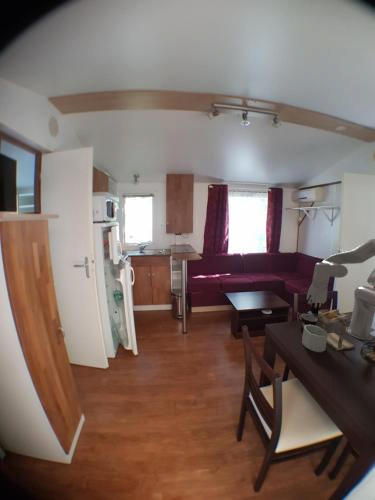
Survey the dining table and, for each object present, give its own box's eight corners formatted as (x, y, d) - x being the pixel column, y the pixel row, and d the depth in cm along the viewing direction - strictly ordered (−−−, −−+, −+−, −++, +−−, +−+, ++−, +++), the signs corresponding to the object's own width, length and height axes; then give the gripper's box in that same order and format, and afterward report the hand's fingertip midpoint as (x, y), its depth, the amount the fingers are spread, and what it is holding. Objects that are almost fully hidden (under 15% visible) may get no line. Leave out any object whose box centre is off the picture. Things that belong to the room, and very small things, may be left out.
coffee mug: (317, 336, 114) (320, 322, 112) (302, 334, 116) (304, 320, 114) (309, 326, 126) (311, 312, 124) (295, 324, 127) (297, 310, 125)
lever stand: (332, 333, 118) (337, 309, 115) (355, 348, 105) (361, 321, 102) (317, 336, 115) (321, 311, 112) (338, 351, 102) (343, 323, 99)
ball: (331, 314, 108) (330, 310, 107) (337, 318, 104) (336, 313, 103) (326, 317, 107) (325, 312, 106) (332, 321, 104) (331, 316, 103)
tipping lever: (330, 312, 117) (330, 303, 116) (353, 325, 104) (354, 315, 103) (307, 318, 114) (307, 309, 113) (328, 332, 101) (329, 322, 100)
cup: (312, 338, 113) (315, 323, 111) (329, 350, 103) (332, 335, 101) (297, 340, 111) (299, 325, 109) (313, 353, 100) (316, 337, 98)
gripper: (324, 281, 113) (319, 308, 117) (303, 282, 110) (298, 310, 113) (336, 285, 106) (330, 315, 110) (314, 286, 103) (309, 317, 106)
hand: (314, 312), depth 111 cm, fingers closed
